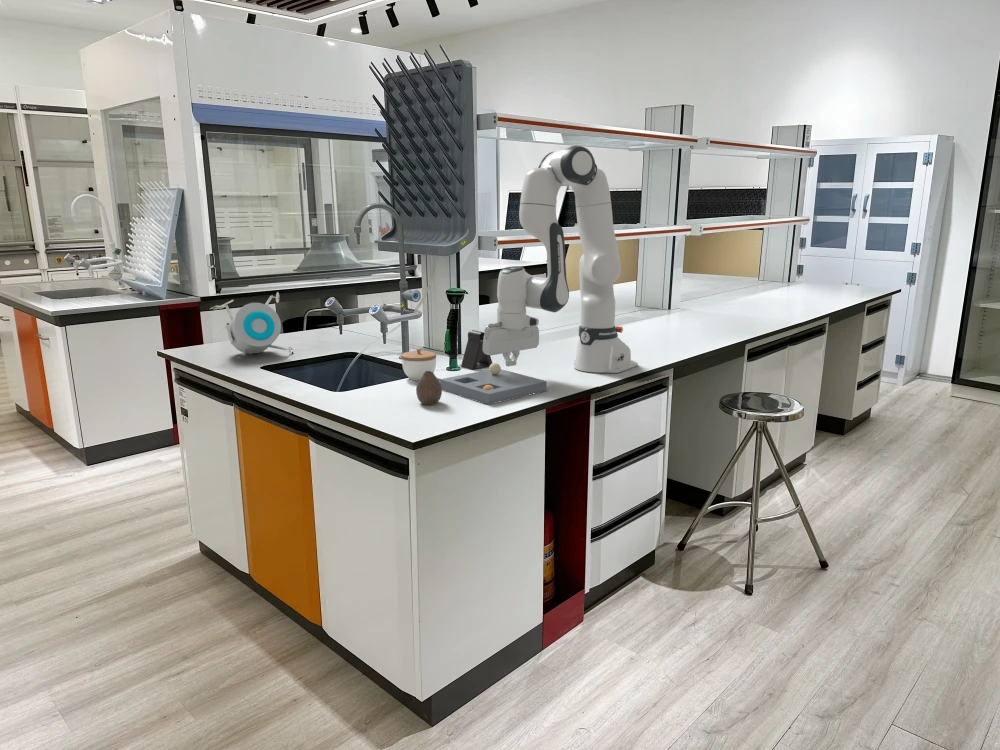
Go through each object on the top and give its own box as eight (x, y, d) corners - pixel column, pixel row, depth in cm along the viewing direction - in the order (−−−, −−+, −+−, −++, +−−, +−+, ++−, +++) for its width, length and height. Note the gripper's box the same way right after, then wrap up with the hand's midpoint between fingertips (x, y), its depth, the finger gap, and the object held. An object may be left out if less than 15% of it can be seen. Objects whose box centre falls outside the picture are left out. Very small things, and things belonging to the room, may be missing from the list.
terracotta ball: (490, 390, 198) (486, 381, 196) (498, 392, 195) (494, 383, 193) (482, 398, 196) (477, 389, 194) (490, 400, 193) (485, 391, 192)
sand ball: (495, 372, 211) (495, 361, 210) (503, 374, 208) (503, 363, 208) (486, 374, 209) (486, 363, 208) (494, 376, 206) (494, 364, 205)
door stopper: (481, 363, 237) (481, 328, 235) (493, 366, 233) (493, 331, 230) (461, 367, 232) (460, 331, 229) (472, 370, 227) (471, 334, 224)
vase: (443, 399, 192) (443, 369, 190) (440, 406, 185) (439, 375, 183) (419, 399, 193) (418, 368, 191) (414, 406, 186) (413, 374, 184)
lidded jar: (431, 373, 223) (430, 344, 221) (441, 380, 213) (440, 350, 211) (398, 376, 219) (397, 347, 217) (407, 384, 210) (406, 353, 207)
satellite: (271, 301, 264) (202, 312, 251) (284, 285, 248) (211, 296, 234) (287, 358, 263) (219, 372, 250) (301, 346, 247) (229, 360, 233)
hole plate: (497, 377, 217) (496, 368, 217) (546, 391, 201) (546, 381, 201) (440, 389, 203) (440, 379, 203) (488, 404, 187) (488, 394, 187)
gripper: (491, 325, 201) (491, 372, 204) (542, 319, 214) (541, 362, 217) (478, 323, 205) (478, 368, 209) (528, 316, 218) (528, 359, 221)
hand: (510, 365), depth 213 cm, fingers closed
